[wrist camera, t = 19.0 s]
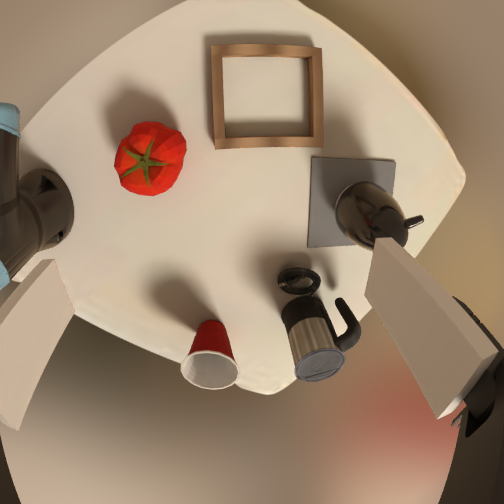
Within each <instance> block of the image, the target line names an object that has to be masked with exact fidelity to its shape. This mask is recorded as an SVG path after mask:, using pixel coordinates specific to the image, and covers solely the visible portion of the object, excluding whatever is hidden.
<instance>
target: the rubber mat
mask: <svg viewBox="0 0 504 504" xmlns="http://www.w3.org/2000/svg"><path fill="white" fill-rule="evenodd" d="M395 168H396V162H391V161H379V160H365V159H346V158H312V163H311V194H310V215H309V233H308V248H316V247H332V246H348V245H357V244H355V243H354V242H352V241H351V240H349V239H348V238H347V237H346V236H345V235H344V234H343V233H342V232H341V231H340V229H339V228H338V226H337V223H336V219H335V207H336V202H337V199H338V197H339V195H340V194H341V192H342V191H343V190H344V189H345V188H346V187H348V186H350V185H352V184H354V183H357V182H361V181H370V182H374V183H376V184H378V185H380V186H381V187H383V188H384V189H385V190H386V191H387V192H388V193H389V194H390V195H391V196H392V195H393V187H394V178H395Z"/></svg>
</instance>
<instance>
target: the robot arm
mask: <svg viewBox="0 0 504 504" xmlns="http://www.w3.org/2000/svg"><path fill="white" fill-rule="evenodd" d="M19 126H20V111H19V109H18V108H17V107H16V106H15V105H13V104H9V103H0V290H1V289H2V288H3V287H4V286H6V285H8V283H9V281H10V280H11V279H12V278H13V277H14V276H15V275H16V274H17V272H18V271H19V270H20V269H21V268H22V267H23V266H24V265H25V264H26V263H27V262H28V261H29V260H30V259H31V258H32V257H33V255H35V254H36V253H37V252H39V251H42V250H45V249H49V248H52V247H54V246H56V245H58V244H59V243H60V242H61V241H62V240H64V239H65V238H66V237H67V235H68V234H69V232H70V230H71V228H72V225H73V221H74V205H73V201H72V197H71V194H70V192H69V190H68V188H67V186H66V184H65V183H64V182H63V180H62V179H61V178H60V177H59V176H58V175H57V174H55V173H54V172H52V171H50V170H46V169H37V170H34V171H31V172H29V173H27V174H25V175H24V176H23V177H21V178H20V179H19V175H18V162H19V139H20V137H21V135H20V133H19V128H20V127H19ZM364 295H365V297H366V298H367V300H368V301H369V303H370V305H371V306H372V308H373V309H374V311H375V312H376V314H377V315H378V317H379V319H380V320H381V322H382V323H383V325H384V327H385V328H386V330H387V331H388V333H389V335H390V336H391V338H392V340H393V341H394V343H395V345H396V346H397V348H398V350H399V351H400V353H401V355H402V356H403V358H404V360H405V362H406V363H407V365H408V367H409V368H410V370H411V372H412V374H413V376H414V377H415V379H416V381H417V382H418V385H419V386H420V388H421V390H422V392H423V394H424V396H425V398H426V399H427V401H428V403H429V405H430V407H431V409H432V411H433V413H434V415H435V417H436V419H439V418H441V417H443V416H445V415H447V414H449V413H451V412H453V411H454V410H455V409H456V408H457V407H458V406H459V405H460V403H461V402H462V401H463V400H464V402H465V403H466V405H467V406H466V407H465V408H464V409H463V410H462V411H461V412H460V414H459V415H458V416H457V417H456V418H455V419H454V420H453V422H452V425H451V426H454V425H455V424H456V423H457V422H458V421H459V420H460V419H461V423H460V424H459V425H458V426H457V427H458V428H460V429H459V434H458V439H457V443H456V448H455V452H454V456H453V460H452V464H451V467H450V471H449V474H448V478H447V481H446V484H445V487H444V490H443V493H442V495H441V498H440V501H439V503H438V504H504V349H503V348H502V347H501V345H500V344H499V343H498V342H497V340H496V339H495V338H494V337H493V335H492V334H491V333H490V332H489V331H488V329H487V328H486V327H485V326H484V325H483V324H482V323H480V320H479V319H478V318H477V317H476V316H475V315H473V312H472V311H471V310H470V309H469V308H468V307H467V306H466V305H465V304H464V303H463V302H461V301H460V300H458V299H457V298H455V297H454V296H451V295H450V294H449V293H448V292H447V291H446V290H445V289H444V288H443V287H442V286H441V285H440V283H439V282H438V281H437V280H435V278H434V277H433V276H432V275H431V274H430V273H429V272H428V271H427V270H426V269H425V268H423V266H422V265H421V264H419V263H418V262H417V261H416V260H415V259H414V258H413V257H412V256H411V255H410V254H409V253H408V252H407V251H406V250H405V249H404V248H403V247H401V246H400V245H399V244H398V243H397V242H396V241H395V240H394V239H393V238H392V237H389V238H376V240H375V246H374V251H373V256H372V262H371V267H370V272H369V276H368V281H367V286H366V290H365V294H364ZM74 312H75V310H74V307H73V305H72V303H71V300H70V298H69V296H68V293H67V291H66V288H65V286H64V283H63V281H62V278H61V275H60V273H59V270H58V267H57V264H56V261H55V259H47V260H42V261H41V262H40V263H39V264H38V265H37V266H36V267H35V268H34V269H33V270H32V271H31V273H30V274H29V275H28V276H27V277H26V278H25V279H24V280H23V281H22V283H21V284H20V285H19V286H18V287H17V288H16V289H15V291H14V292H13V293H12V294H11V295H10V297H9V298H8V299H7V300H6V301H5V303H4V304H3V305H2V306H1V308H0V420H1V421H2V422H3V423H4V424H5V425H7V426H9V427H11V428H13V429H15V430H19V427H20V425H21V422H22V419H23V416H24V414H25V411H26V409H27V406H28V404H29V402H30V399H31V397H32V395H33V392H34V390H35V388H36V385H37V383H38V381H39V379H40V377H41V374H42V372H43V370H44V368H45V366H46V364H47V362H48V360H49V358H50V356H51V354H52V352H53V350H54V348H55V346H56V345H57V342H58V341H59V339H60V337H61V335H62V333H63V332H64V330H65V328H66V326H67V324H68V323H69V321H70V319H71V317H72V316H73V314H74ZM0 504H21V502H20V500H19V497H18V494H17V492H16V489H15V486H14V484H13V481H12V478H11V474H10V471H9V468H8V465H7V461H6V457H5V454H4V450H3V445H2V441H1V437H0Z"/></svg>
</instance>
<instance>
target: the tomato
mask: <svg viewBox="0 0 504 504" xmlns="http://www.w3.org/2000/svg"><path fill="white" fill-rule="evenodd" d="M186 151H187V149H186V140H185V139H184V137H183V135H182V134H181V132H179V131H177V130H174V129H171V128H168V127H166V126H164V125H163V124H161V123H159V122H148V121H146V122H142V123H139V124H136V125H135V126H134V127H133V129H132V131H131V133H130V134H129V135H128V136H127V137H125V138H124V139H123V140H122V141H121V143H120V146H119V148H118V150H117V153H116V156H115V163H114V167H115V169H116V171H117V173H118V175H119V179H120V183H121V186H123V187H124V188H126V189H127V190H128V191H130V192H133V193H136V194H139V195H147V196H155V195H157V194H160V193H163V192H165V191H167V190H168V189H169V188H171V187H172V186H173V184H174V183H175V181H176V180H177V178H178V176H179V173H180V171H181V169H182V166H183V158H184V156H185V153H186Z"/></svg>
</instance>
